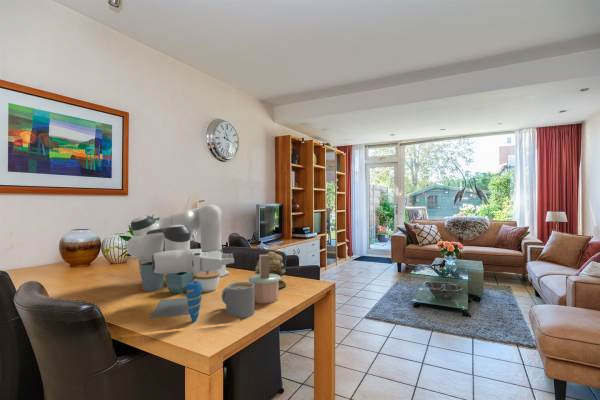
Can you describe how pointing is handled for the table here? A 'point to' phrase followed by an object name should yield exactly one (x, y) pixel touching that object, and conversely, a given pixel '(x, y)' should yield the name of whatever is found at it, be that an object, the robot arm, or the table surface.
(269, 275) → the lid
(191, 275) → the flower pot
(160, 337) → the table surface
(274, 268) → the brown rock sculpture
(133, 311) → the table surface
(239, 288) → the coffee mug
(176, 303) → the mat
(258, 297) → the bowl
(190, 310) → the ornament
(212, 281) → the lidded jar
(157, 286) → the blue-grey tapered cup
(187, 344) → the table surface
